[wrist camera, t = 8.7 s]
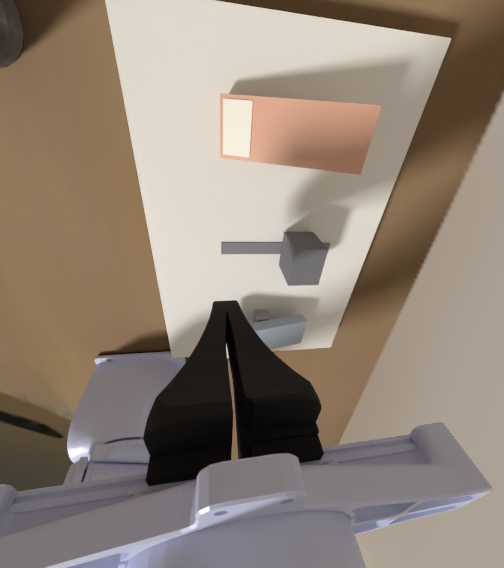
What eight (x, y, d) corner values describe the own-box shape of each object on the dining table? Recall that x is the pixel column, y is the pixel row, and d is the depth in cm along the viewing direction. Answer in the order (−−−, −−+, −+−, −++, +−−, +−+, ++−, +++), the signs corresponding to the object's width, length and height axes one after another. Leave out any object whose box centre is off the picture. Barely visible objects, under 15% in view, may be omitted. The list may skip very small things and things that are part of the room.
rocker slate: (219, 351, 22) (222, 360, 22) (219, 328, 21) (222, 338, 20) (296, 335, 25) (301, 343, 24) (302, 314, 23) (307, 321, 22)
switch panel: (174, 343, 27) (170, 369, 24) (116, -1, 12) (89, -34, 9) (323, 334, 30) (335, 357, 27) (425, 46, 15) (473, 31, 12)
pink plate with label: (225, 155, 15) (219, 157, 14) (226, 94, 13) (219, 93, 12) (358, 171, 14) (360, 175, 13) (378, 106, 12) (382, 105, 11)
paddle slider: (278, 265, 20) (288, 285, 18) (283, 231, 19) (295, 249, 16) (305, 264, 21) (318, 285, 18) (313, 232, 19) (328, 249, 17)
